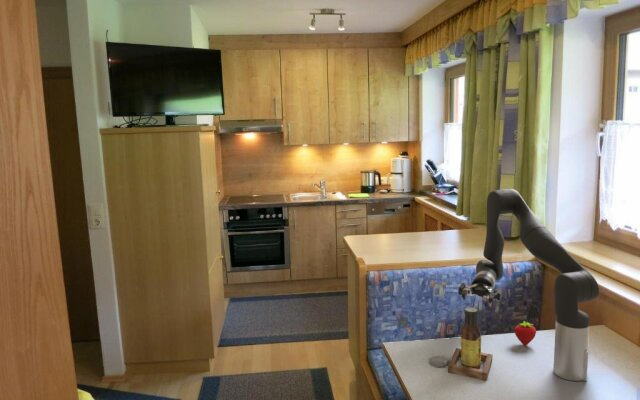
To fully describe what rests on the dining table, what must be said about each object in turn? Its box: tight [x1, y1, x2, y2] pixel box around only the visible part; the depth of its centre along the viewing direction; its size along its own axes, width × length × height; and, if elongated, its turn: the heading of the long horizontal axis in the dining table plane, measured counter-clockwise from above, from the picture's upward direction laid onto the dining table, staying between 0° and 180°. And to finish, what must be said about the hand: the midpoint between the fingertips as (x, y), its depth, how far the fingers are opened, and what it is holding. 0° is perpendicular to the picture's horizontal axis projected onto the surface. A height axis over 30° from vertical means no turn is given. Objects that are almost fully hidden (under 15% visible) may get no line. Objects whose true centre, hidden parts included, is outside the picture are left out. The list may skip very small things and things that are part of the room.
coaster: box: [428, 355, 451, 369], centre depth 158 cm, size 7×7×1 cm
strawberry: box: [514, 318, 537, 346], centre depth 167 cm, size 6×8×10 cm
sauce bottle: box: [460, 307, 482, 370], centre depth 153 cm, size 6×6×20 cm
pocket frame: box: [447, 347, 493, 381], centre depth 154 cm, size 12×13×2 cm
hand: (476, 298), depth 161 cm, fingers open, 8 cm apart
